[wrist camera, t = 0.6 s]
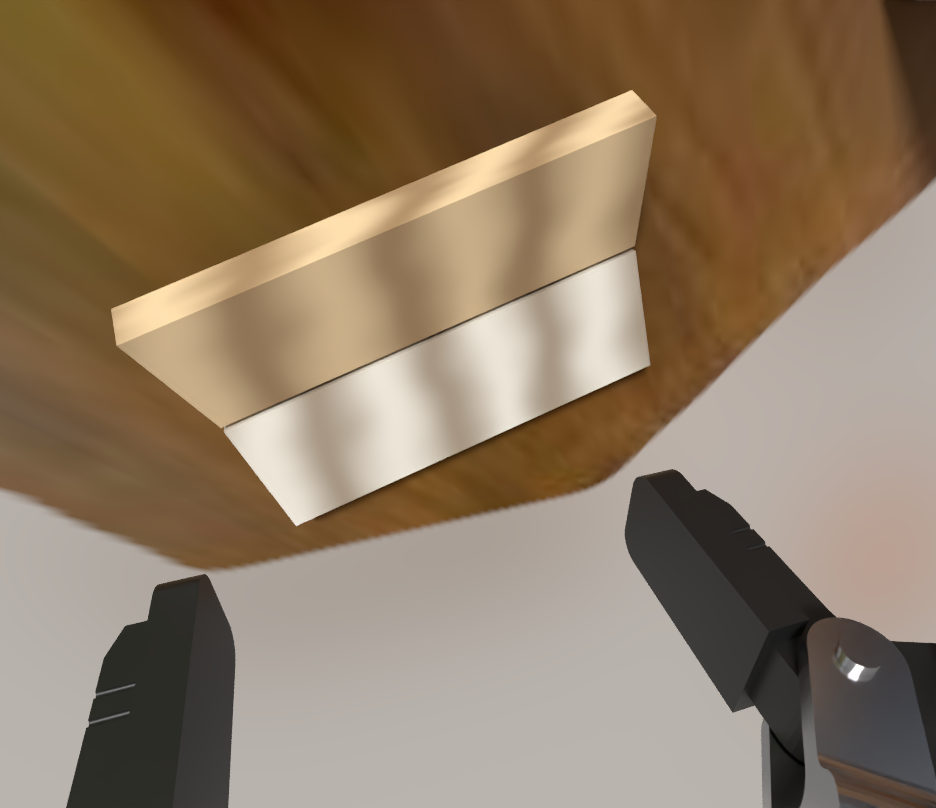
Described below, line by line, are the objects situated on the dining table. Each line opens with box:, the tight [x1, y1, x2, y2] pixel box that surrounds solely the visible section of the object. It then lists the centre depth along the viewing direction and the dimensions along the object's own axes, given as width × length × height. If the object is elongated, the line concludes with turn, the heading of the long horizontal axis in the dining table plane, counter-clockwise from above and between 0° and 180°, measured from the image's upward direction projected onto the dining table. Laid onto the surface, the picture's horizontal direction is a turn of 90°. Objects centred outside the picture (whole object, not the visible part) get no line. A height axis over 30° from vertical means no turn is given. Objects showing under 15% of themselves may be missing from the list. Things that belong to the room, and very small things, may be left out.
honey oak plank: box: [111, 90, 657, 428], centre depth 28 cm, size 24×8×2 cm, turn 108°
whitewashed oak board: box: [224, 248, 650, 526], centre depth 34 cm, size 24×8×2 cm, turn 108°
